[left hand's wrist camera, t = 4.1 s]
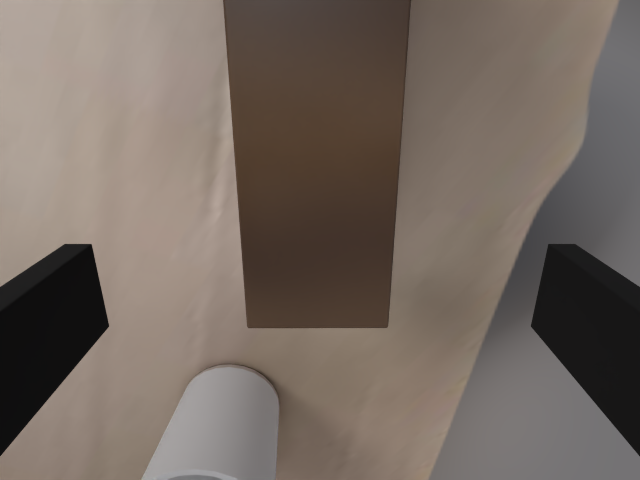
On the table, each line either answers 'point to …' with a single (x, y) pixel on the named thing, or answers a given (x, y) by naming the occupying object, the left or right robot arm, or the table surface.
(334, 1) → the box
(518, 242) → the table surface
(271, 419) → the mug
